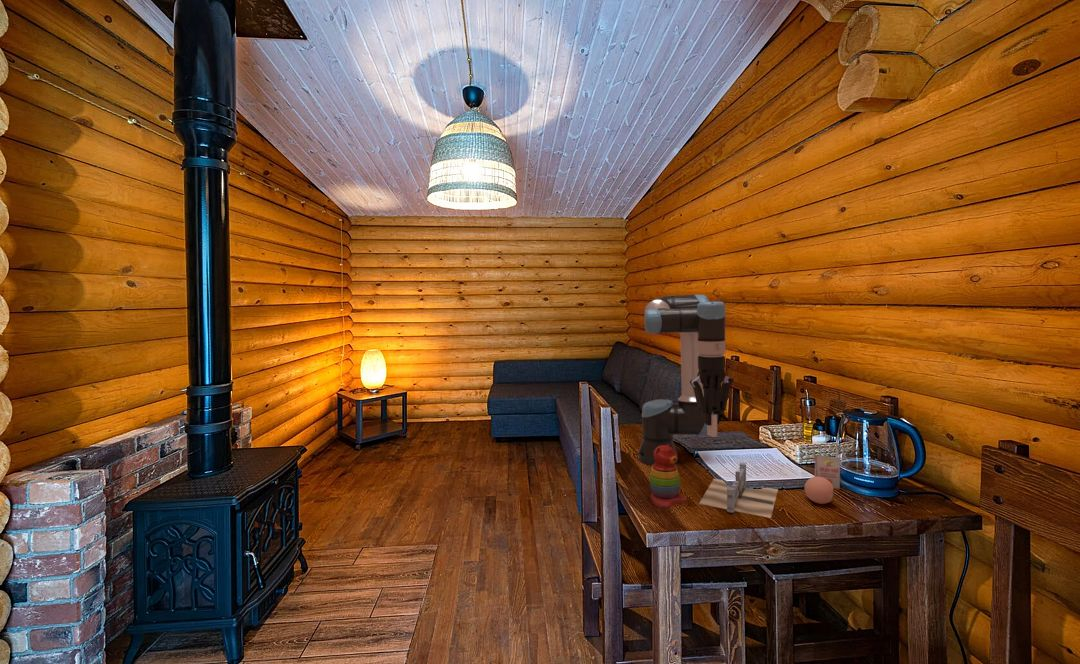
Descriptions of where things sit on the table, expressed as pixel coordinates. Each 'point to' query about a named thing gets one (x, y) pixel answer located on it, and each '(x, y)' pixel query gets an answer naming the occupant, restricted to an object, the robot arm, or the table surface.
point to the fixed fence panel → (741, 477)
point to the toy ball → (819, 490)
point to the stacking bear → (665, 478)
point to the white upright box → (828, 469)
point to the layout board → (741, 499)
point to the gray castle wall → (732, 496)
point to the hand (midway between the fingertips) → (712, 435)
